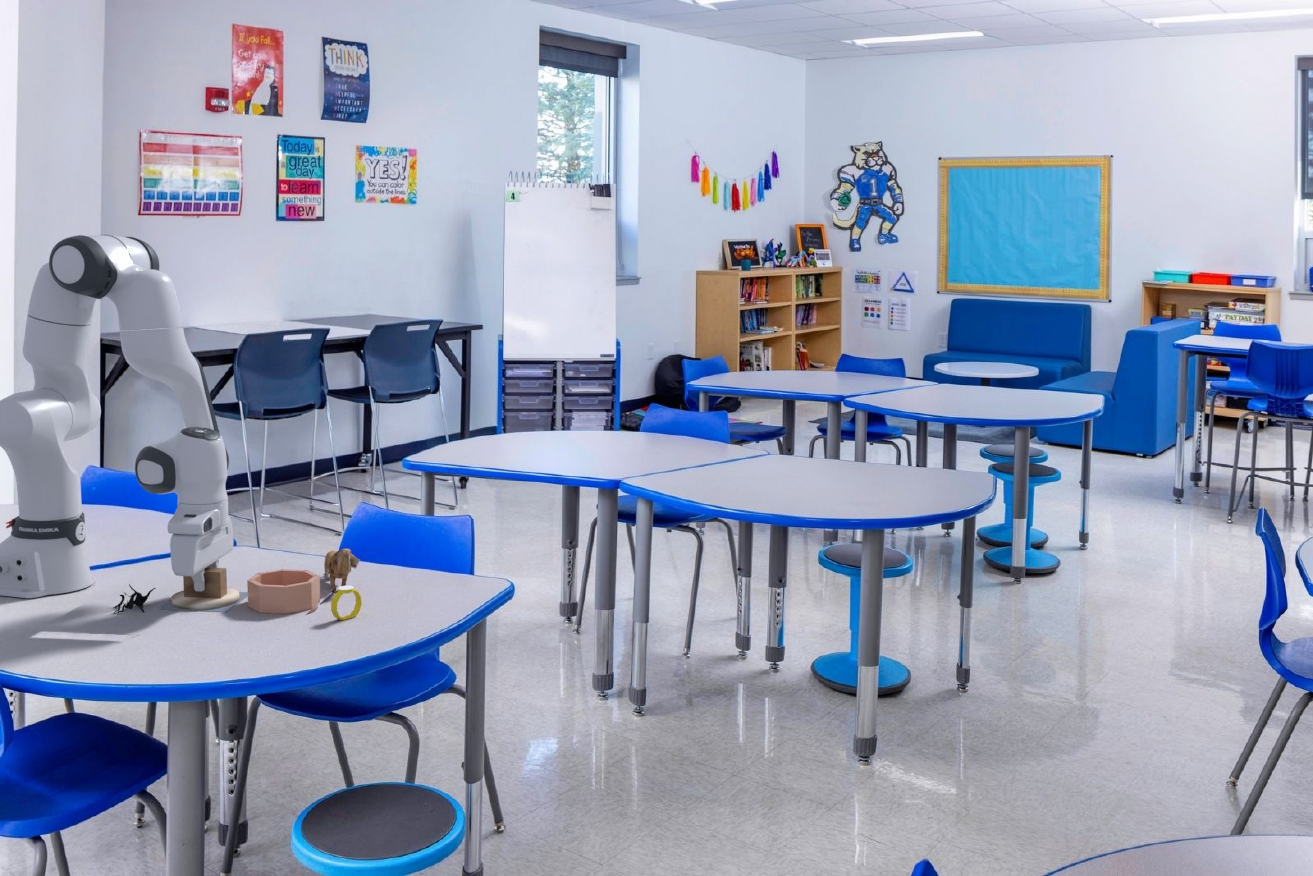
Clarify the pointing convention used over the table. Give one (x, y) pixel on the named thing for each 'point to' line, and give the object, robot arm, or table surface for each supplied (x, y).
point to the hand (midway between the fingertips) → (205, 587)
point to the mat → (223, 609)
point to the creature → (138, 600)
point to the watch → (337, 596)
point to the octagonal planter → (284, 591)
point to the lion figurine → (339, 565)
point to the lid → (206, 592)
